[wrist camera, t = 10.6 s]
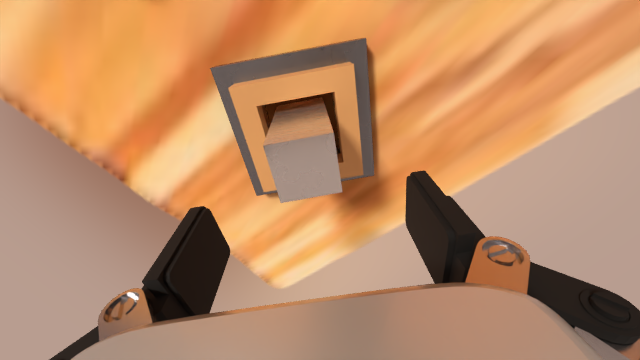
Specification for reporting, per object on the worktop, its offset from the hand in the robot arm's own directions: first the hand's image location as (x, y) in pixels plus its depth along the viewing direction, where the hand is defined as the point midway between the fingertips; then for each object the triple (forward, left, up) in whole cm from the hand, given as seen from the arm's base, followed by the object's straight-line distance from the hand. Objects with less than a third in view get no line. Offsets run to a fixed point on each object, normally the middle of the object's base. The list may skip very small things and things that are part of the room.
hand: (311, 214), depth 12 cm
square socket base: (0, 0, -15) cm, 15 cm away
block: (0, 0, -15) cm, 15 cm away
